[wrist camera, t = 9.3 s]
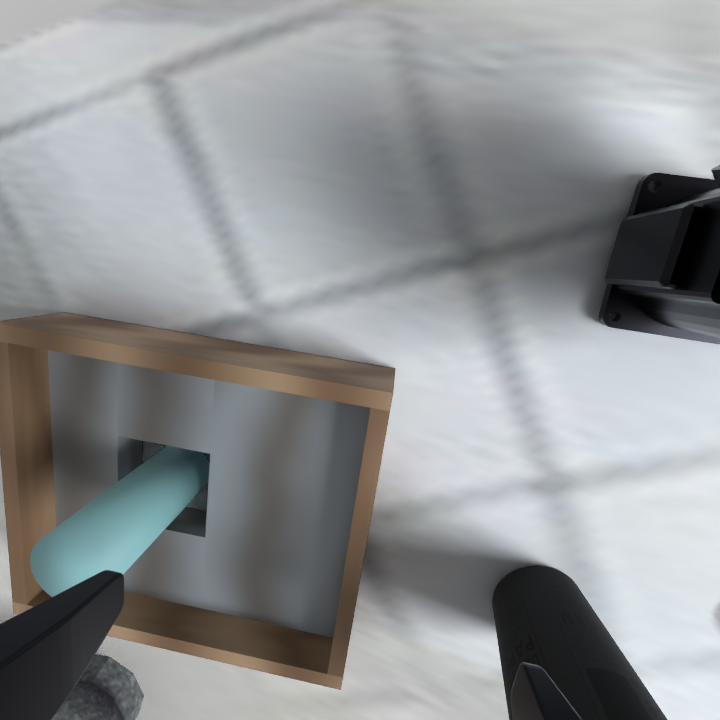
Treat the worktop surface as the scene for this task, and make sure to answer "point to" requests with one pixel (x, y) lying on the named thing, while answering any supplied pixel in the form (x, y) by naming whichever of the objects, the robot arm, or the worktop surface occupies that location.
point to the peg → (119, 520)
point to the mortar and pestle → (103, 693)
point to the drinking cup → (566, 646)
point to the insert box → (225, 488)
